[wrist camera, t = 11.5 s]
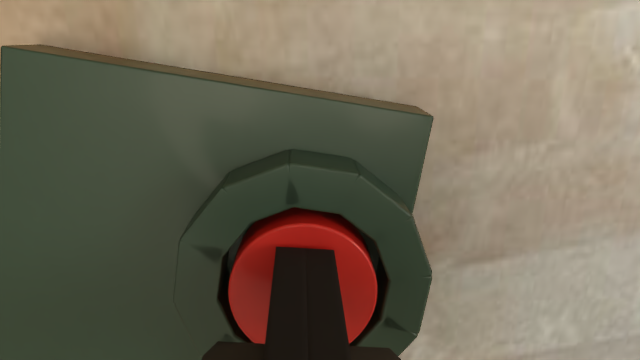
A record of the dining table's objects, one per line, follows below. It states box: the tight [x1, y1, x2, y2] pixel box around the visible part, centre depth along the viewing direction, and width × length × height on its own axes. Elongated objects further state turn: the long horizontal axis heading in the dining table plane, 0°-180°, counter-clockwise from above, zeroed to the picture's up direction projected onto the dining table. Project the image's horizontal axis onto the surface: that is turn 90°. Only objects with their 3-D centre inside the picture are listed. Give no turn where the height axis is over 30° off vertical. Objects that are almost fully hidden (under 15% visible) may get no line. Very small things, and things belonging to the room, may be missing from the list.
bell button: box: [228, 207, 377, 344], centre depth 15 cm, size 4×4×2 cm
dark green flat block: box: [0, 45, 433, 360], centre depth 16 cm, size 12×10×4 cm
